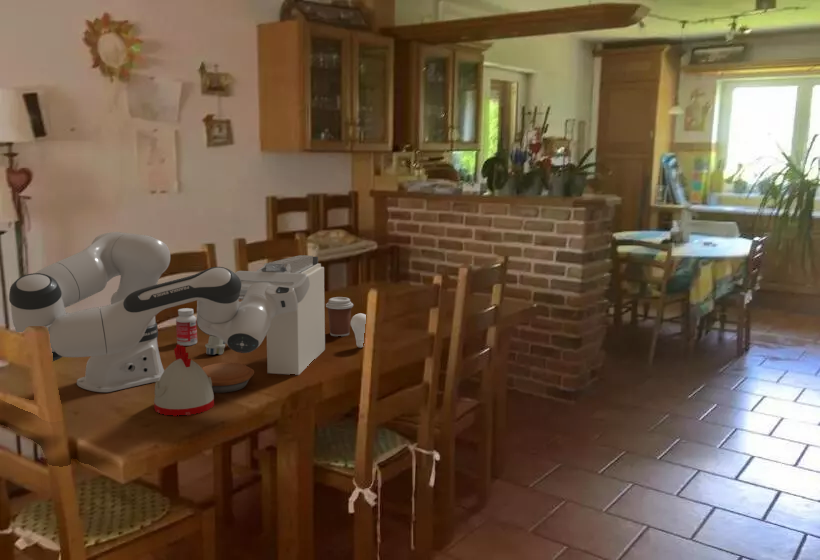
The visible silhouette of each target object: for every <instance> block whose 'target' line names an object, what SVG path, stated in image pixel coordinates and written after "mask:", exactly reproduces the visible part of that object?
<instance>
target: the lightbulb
mask: <svg viewBox="0 0 820 560" xmlns="http://www.w3.org/2000/svg"><path fill="white" fill-rule="evenodd" d="M366 315H367V314H365V313H361V312H360V313H359V312H358V313H357V314H355V315H353V316H352V317H351V318H350V327H351V329H352V331H353V334H354V337H355V338H354V339H355V343H356V344H355V345H356V346H357V347H358V348H360V349H361V348H363V347H364V346H363V343H364V333H365V324H366Z"/></svg>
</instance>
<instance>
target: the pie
mask: <svg viewBox="0 0 820 560" xmlns="http://www.w3.org/2000/svg"><path fill="white" fill-rule="evenodd" d="M201 368H202V369H203V370H204V372H205V373H206V375H207V376H208V378H209V377H211V382H212V390H213V394H214V393H216V394H219V393H220V394H223V393H231V392H236V391H240V390H242V389H243V388H245V387H246V386H247V385H248V383H249V381H250V379H252V377H253V375H254V373H255V370H254V369H252V368H251V367H249V366H247V365H245V364H244V363H243V364H242V363H239V362H238V363H237V362H218V363H212V364H208V365H206V366H203V367H201Z"/></svg>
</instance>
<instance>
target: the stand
mask: <svg viewBox="0 0 820 560" xmlns="http://www.w3.org/2000/svg"><path fill="white" fill-rule="evenodd" d="M301 273H305V274H307V276H308V278H309V282H310V286H309V289H308V291H307V293H306V295H305V297H304V298H303V300H302V301H301V302H299V303H298V309H297V310H296V311H293V312H287V313H283V314H279V315H276V316H274V318H273V319H272V320H271V325H270V328H269V330H268V332H267V334H266V360H267V362H266V364H267V374H277V375H290V374H295V375H294V376H300V375H301V374H302V372H303V371H305V369H307V368H308V367H309V366H310V365H311V364H312V363H313V362H314V361H315V360H316V359H317V358H318V357H319V356H320V355H321V354H322V353H323V352H324V351H325V350H326V333H325V332H326V329H325V328H326V324H325V323H326V320H325V319H326V317H325V310H326V309H325V267H324V266H322V263H319V257H318V256H313V266H312V267H310V268H308V269H307V270H305V271H303V272H301ZM314 359H315V360H314ZM313 360H314V361H313ZM312 361H313V362H312ZM311 362H312V363H311ZM310 363H311V364H310ZM309 364H310V365H309ZM307 366H308V367H307Z"/></svg>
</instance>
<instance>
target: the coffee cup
mask: <svg viewBox="0 0 820 560" xmlns="http://www.w3.org/2000/svg"><path fill="white" fill-rule="evenodd" d="M325 307H326V308H327V316H328V323H329V324H328V325H329V334H330V336H331V337H338V336H341V337H347V336H349V335H350V327H351V319H352V317H351V315H352V308H353V307H354V303H353V302H352V301H351V298H349V297H343V296H336V297H331V298H329V299H328V302H327V303H325Z"/></svg>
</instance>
